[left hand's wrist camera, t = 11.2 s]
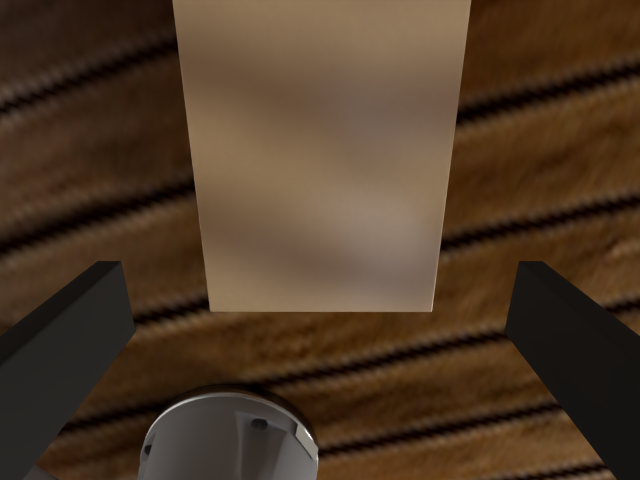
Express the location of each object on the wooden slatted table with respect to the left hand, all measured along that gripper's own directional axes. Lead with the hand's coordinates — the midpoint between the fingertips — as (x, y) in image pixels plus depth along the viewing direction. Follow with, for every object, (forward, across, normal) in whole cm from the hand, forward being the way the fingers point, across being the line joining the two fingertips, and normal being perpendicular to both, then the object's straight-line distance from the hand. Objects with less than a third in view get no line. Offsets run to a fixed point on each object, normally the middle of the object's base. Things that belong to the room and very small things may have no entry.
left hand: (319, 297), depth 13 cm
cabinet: (+14, 0, -7) cm, 15 cm away
